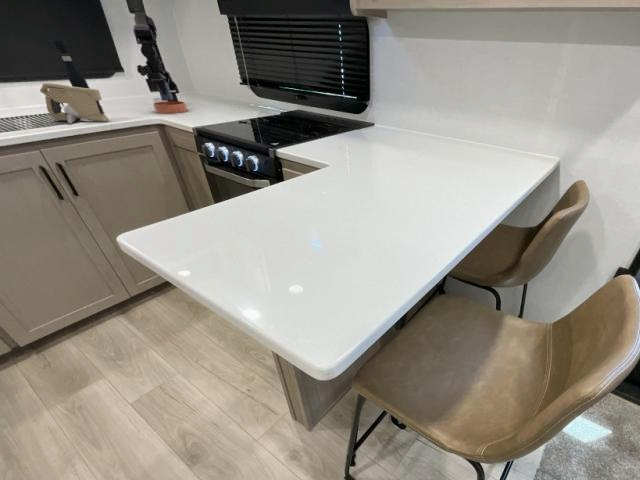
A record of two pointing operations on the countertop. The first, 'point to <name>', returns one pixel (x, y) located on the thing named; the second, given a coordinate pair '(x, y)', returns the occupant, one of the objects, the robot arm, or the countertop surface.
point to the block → (168, 93)
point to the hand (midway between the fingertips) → (166, 94)
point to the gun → (73, 101)
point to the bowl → (170, 107)
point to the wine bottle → (71, 67)
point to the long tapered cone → (70, 114)
